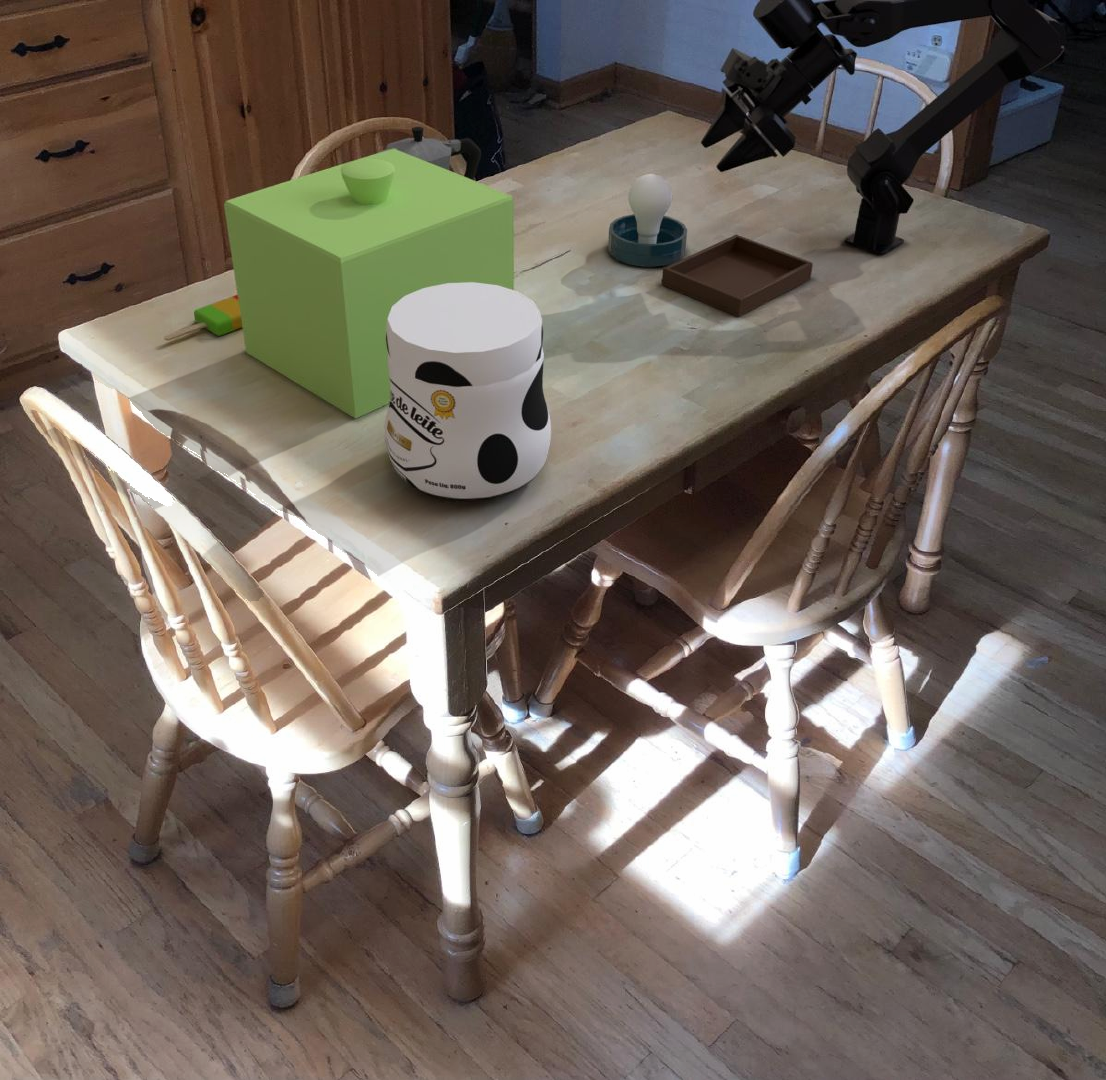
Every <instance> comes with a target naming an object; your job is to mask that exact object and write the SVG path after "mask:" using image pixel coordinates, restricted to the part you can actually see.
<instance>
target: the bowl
mask: <svg viewBox="0 0 1106 1080" xmlns="http://www.w3.org/2000/svg"><path fill="white" fill-rule="evenodd" d="M687 236H688V228H687V226H685V224H684V223H683V222H681V221H680V220H678V219H676V218H673V217H670V216H667V215H664V217H663V219H662V221H661V224H660V228H659V233H658V234H657V241H656V244H644V243H638V232H637V222H636V218H635V215H634V213H633V214H628V215H623V216H621V217H617V218H615V219H614V220H613V221H611V222H610V223H609V227H608V240H607V251H608V253H609V255H610V256H612V257H613V258H614V259H615V260H617V261H619V262H621V263H624V264H628V265H631V266H637V267H647V268H650V267H665V266H669V265H671V264H673V263H675V262H677V261H680V260H682V259H684V258H685V255H686V248H687V238H688V237H687Z"/></svg>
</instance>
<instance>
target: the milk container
mask: <svg viewBox="0 0 1106 1080" xmlns="http://www.w3.org/2000/svg"><path fill="white" fill-rule="evenodd" d="M543 342H544V326H543V318H542V314H541V311H540V310H539V308H538V306H537V305H536V303H535V302H534V300H532V299H531V298H529V297H527V296H526V295H524V294H523V293H521V292H519V291H517V290H515V289H514V290H511V289H508V288H505V287H501V286H498V285H491V284H483V283H475V282H467V283H446V284H441V285H436V286H431V287H426V288H423V289H420V290H418V291H415V292H413V293H411V294H408V295H406V296H404V297H403V298H402V299H400V300H399V301H398V302H397V303H396V304H394V305H393V306H392V308H391V311H390V313H389V316H388V319H387V326H386V345H387V350H388V367H389V376H390V387H391V395H390V402H389V403H388V406H387V411H386V413H385V421H384V440H385V441H384V442H385V446H386V450H387V454H388V457H389V460H390V464H391V466H392V467H393V469H394V471H395V472H396V473H397V475H398V476H399V477H400V478H401V479H402V481H404V482H405V483H406V484H407V485H408V486H410V487H411V488H413V489H415V490H416V491H419V492H421V493H424V494H426V495H429V496H432V497H435V498H439V499H446V500H453V501H458V502H469V501H487V500H491V499H494V498H498V497H502V496H505V495H508V494H509V495H510V494H512V493H513V492H516V491H518V490H520V489H521V488H523V487H525V486H526V485H528V484H529V483H531V482H532V481H533V480H534V479H535V478H536V477H537V476H538V474H539V473H540V471H541V470H542V469H543V467H544V465H545V464H546V461H547V459H548V455H549V450H550V445H551V440H552V422H551V416H550V412H549V408H548V405H547V402H546V397H545V393H544V387H543V385H544V382H543V381H544V379H543V378H544V363H545V362H544V361H545V360H544V359H545V356H544V355H545V354H544V347H543Z"/></svg>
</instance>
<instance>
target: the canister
mask: <svg viewBox="0 0 1106 1080" xmlns="http://www.w3.org/2000/svg"><path fill="white" fill-rule="evenodd" d="M379 152H380V151H379ZM514 201H515V200H514V198H513V195H512V194H509V193H506V192H502V191H500V190H498V189H495V188H493V187H490V186H488V185H486V184H483V183H481V182H478V181H476V180H475V179H474V180H471V179H469V178H466V177H464V175H461V174H459V173H456V172H454V171H452V170H450V169H449V170H446V169H444V168H441V167H439V166H436V165H434V164H431V163H429V162H426V161H424V160H421V159H419V158H416V157H413V156H411V155H408V154H406V153H403V152H401V151H399V150H397V149H390V150H387V151H384V152H380V153H377V152H376V153H373V154H371V155H368V156H364V157H360V158H357V159H354V160H351V161H348V162H344V163H342V164H339V165H335V166H332V167H329V168H326V169H322V170H319V171H316V172H313V173H310V174H307V175H303V176H299V177H296V178H294V179H290V180H286V181H284V182H281V183H278V184H274V185H271V186H268V187H265V188H262V189H259V190H255V191H252V192H248V193H246V194H243V195H240V196H236V197H234V198H230V199H228V200H226V201H225V202H224V204H223V208H224V215H225V221H226V228H227V229H226V230H227V234H228V241H229V247H230V248H229V249H230V253H231V254H230V255H231V261H232V269H233V275H234V280H235V288H236V293H237V294H236V295H238V301H239V308H240V314H241V321H242V327H241V328H242V334H243V340H244V347H245V352H246V354H247V355H250V356H251V357H252V358H254V359H256V360H257V361H260V362H261V363H262V364H265V365H266V366H268V367H269V368H271V369H272V370H274V371H276V372H278V373H279V374H281V375H283V376H284V377H285V378H288V379H289V380H291V381H293V382H294V383H296V384H297V385H299V386H301V387H302V388H304V389H306V390H307V391H309V392H311V393H312V394H314V395H316V396H318V398H320V399H322V400H324V401H325V402H327V403H329V404H331V405H332V406H334V407H336V408H337V409H339V410H341V411H342V412H344V413H345V414H347V415H349V416H351V417H352V418H354V419H357V418H359V417H362V416H364V415H367V414H369V413H372V412H373V411H376V410H377V409H379V408H382V407H384V406H385V405H389V402H390V395H391V387H390V376H389V367H388V350H387V345H386V326H387V319H388V316H389V313H390V311H391V308H392V306H393V305H394V304H396V303H397V302H398V301H399V300H400V299H402V298H403V297H404V296H406V295H408V294H411V293H413V292H415V291H418V290H420V289H423V288H426V287H431V286H436V285H441V284H446V283H467V282H475V283H483V284H491V285H498V286H501V287H505V288H508V289H511V290H514V291H515V275H514V274H515V268H514V267H515V258H514V257H515V255H514V254H515V247H514V246H515V242H514V241H515V239H514V237H515V236H514V235H515V231H514V229H515V224H514V223H515V220H514V219H515V217H514V216H515V213H514V212H515V211H514V210H515V207H514V206H515V202H514Z"/></svg>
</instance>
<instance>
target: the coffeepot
mask: <svg viewBox="0 0 1106 1080" xmlns="http://www.w3.org/2000/svg"><path fill="white" fill-rule="evenodd" d="M424 129H425V128H424V127H421V126H414V127H412V128H411V133H412V136H413V137H406V138H404V139H401V140H397V141H394V142H390V143H387V145H386V148H385V149H383V150H379V151H376V154H377V153H380V152H384V151H387V150H390V149H397V150H399V151H401V152H403V153H406V154H408V155H411V156H413V157H416V158H419V159H421V160H424V161H426V162H429V163H431V164H434V165H436V166H439V167H441V168H444V169H446V170H449V171H450V167H451V166H450V165H451V157H454V156H455V157H456V156H459V155H461V154H465V153H467V154H468V157H467V159H466V164H465V165H466V166H465V172H464V175H463V176H464V177H466V178H469V179H471V180H474V181H475V176H476V174H477V173H476V172H477V170H478V166H479V164H480V160H481V157H482V150H481V149H480V147H479V146H478V145H477V144H476V143H475V142H474V141H473V140H472V139H471V138H469V137H467V138H461V139H449V140H445V141H442V140H439V139H437V138H428V137H427V138H426V137H424ZM423 137H424V138H423Z"/></svg>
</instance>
